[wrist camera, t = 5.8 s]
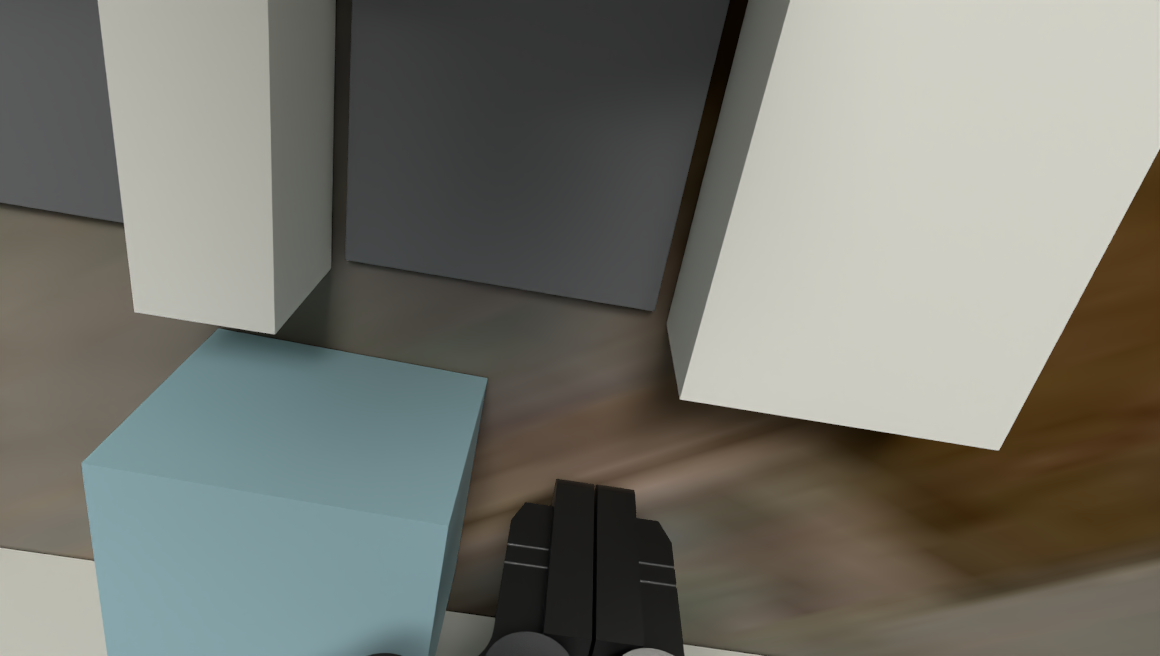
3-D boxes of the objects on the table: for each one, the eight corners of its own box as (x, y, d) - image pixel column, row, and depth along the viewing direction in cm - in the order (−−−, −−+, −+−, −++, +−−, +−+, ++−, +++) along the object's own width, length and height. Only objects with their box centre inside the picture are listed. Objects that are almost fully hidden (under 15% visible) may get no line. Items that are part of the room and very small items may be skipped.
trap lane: (-320, 541, 16) (-466, 634, 14) (-844, -474, 9) (-1330, -617, 7) (785, 694, 18) (811, 801, 15) (1133, -72, 10) (1280, -79, 8)
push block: (223, 531, 16) (113, 701, 12) (218, 328, 14) (80, 463, 10) (455, 570, 16) (413, 746, 13) (487, 378, 14) (448, 526, 10)
